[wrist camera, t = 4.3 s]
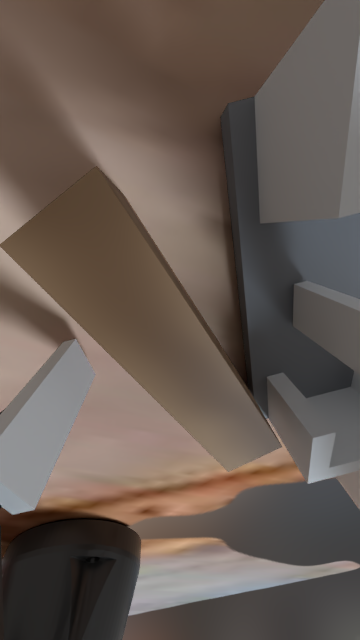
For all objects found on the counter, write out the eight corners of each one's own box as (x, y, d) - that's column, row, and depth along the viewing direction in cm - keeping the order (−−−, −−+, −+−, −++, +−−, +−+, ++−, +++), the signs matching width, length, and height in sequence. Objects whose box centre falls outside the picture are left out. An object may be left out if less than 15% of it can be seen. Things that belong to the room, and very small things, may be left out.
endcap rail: (250, 410, 17) (290, 488, 12) (220, 117, 8) (313, -49, 3) (363, 381, 17) (452, 446, 12) (444, 58, 8) (867, -195, 3)
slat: (208, 403, 16) (228, 472, 12) (71, 238, 10) (-2, 245, 5) (245, 383, 16) (282, 446, 11) (125, 196, 9) (96, 165, 5)
